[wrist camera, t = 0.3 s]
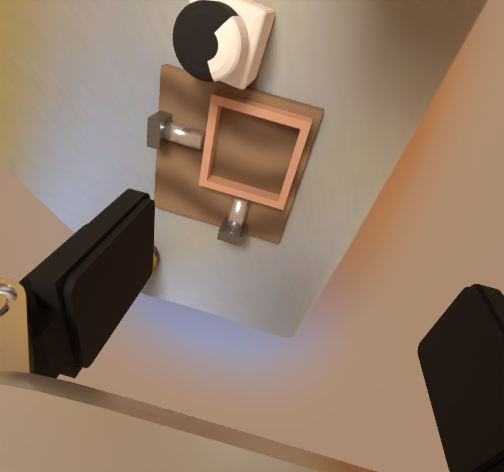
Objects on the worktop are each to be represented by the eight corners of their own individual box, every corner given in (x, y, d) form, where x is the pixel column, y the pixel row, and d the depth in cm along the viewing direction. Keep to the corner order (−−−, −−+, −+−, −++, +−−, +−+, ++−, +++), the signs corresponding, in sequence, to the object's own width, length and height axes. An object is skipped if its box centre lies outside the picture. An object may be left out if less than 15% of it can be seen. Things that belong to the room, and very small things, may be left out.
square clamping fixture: (166, 64, 40) (147, 70, 36) (323, 109, 40) (323, 120, 36) (158, 201, 52) (143, 218, 48) (279, 237, 51) (275, 257, 47)
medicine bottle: (200, 57, 39) (157, 72, 29) (214, -15, 35) (170, -25, 25) (256, 79, 39) (232, 102, 30) (277, 10, 35) (257, 11, 25)
